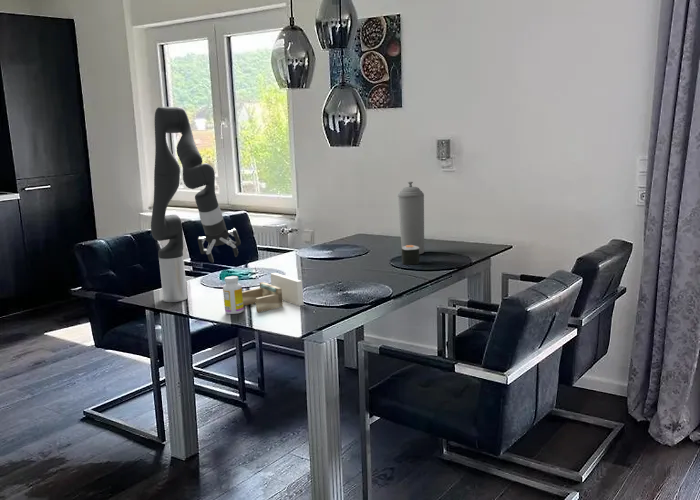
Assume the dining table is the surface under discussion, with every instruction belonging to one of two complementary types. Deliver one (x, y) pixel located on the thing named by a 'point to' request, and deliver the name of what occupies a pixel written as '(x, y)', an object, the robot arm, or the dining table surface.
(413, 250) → the sushi
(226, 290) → the supplement bottle
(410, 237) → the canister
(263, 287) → the cradle
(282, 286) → the backstop board
